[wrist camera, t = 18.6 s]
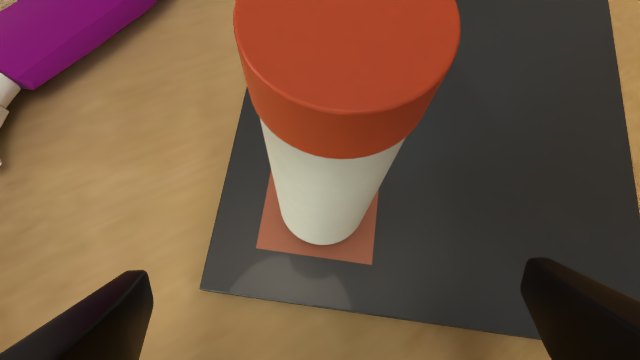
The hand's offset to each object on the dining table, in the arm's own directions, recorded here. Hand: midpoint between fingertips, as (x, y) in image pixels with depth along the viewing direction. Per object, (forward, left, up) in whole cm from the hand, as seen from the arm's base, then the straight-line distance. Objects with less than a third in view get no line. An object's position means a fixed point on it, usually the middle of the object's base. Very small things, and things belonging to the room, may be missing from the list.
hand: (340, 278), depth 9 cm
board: (-4, -9, -8) cm, 13 cm away
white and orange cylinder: (+1, -4, -7) cm, 8 cm away
